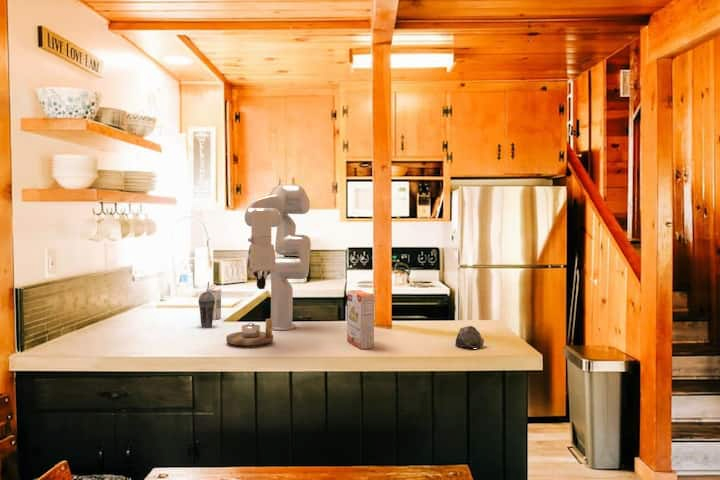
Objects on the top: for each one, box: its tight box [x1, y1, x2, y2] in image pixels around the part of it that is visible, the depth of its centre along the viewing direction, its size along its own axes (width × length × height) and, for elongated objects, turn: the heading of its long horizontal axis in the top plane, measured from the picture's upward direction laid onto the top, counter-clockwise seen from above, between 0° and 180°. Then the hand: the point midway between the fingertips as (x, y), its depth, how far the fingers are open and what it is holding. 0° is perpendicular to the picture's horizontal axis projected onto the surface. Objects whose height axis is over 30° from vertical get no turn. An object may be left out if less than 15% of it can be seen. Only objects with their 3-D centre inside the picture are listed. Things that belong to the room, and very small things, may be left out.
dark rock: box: [455, 325, 485, 349], centre depth 229 cm, size 11×9×10 cm
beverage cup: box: [198, 281, 215, 329], centre depth 258 cm, size 7×7×20 cm
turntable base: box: [238, 344, 263, 347], centre depth 229 cm, size 11×11×1 cm
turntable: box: [226, 318, 274, 346], centre depth 229 cm, size 18×18×8 cm
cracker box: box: [346, 289, 375, 350], centre depth 228 cm, size 14×6×21 cm, turn 23°
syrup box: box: [205, 287, 222, 321], centre depth 278 cm, size 6×6×14 cm
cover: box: [241, 322, 261, 338], centre depth 228 cm, size 7×7×5 cm
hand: (261, 288), depth 223 cm, fingers closed
